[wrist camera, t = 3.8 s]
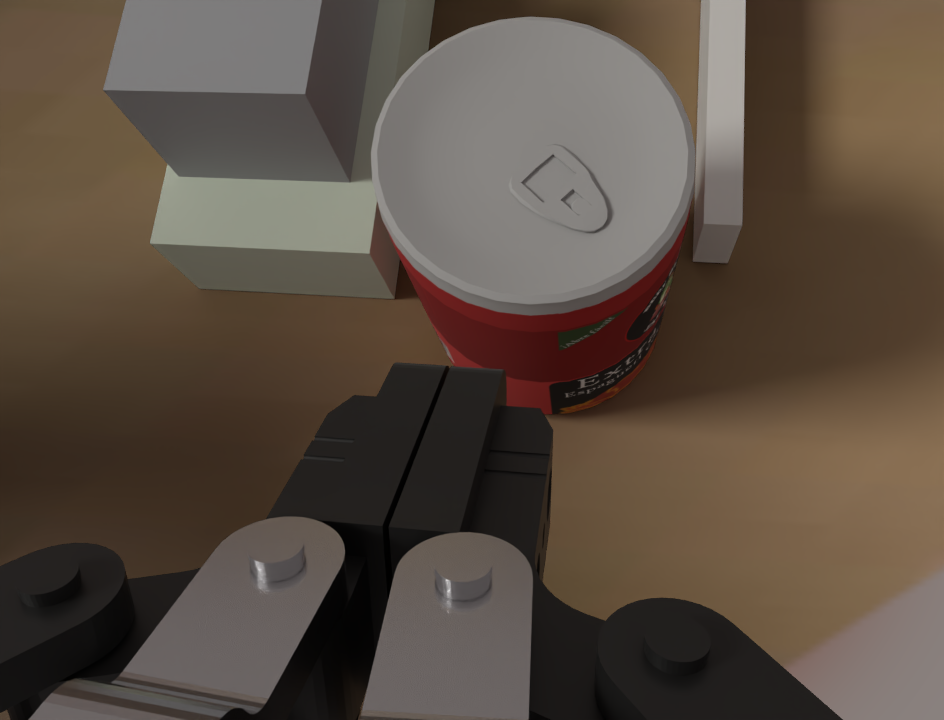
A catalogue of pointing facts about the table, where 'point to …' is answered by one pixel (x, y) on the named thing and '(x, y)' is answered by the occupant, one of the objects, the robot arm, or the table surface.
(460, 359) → the canned food
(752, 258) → the table surface
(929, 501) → the table surface
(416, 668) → the robot arm
